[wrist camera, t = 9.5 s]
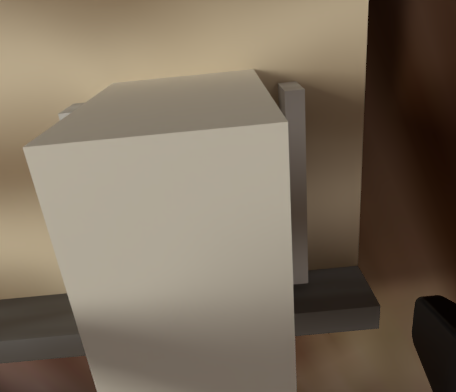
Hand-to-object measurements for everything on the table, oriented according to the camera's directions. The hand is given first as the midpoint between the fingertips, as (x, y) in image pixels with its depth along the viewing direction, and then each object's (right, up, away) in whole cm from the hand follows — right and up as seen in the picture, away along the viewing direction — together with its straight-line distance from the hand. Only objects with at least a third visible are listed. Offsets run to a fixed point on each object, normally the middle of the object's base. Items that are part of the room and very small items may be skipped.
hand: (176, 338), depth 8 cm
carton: (0, +3, +7) cm, 8 cm away
